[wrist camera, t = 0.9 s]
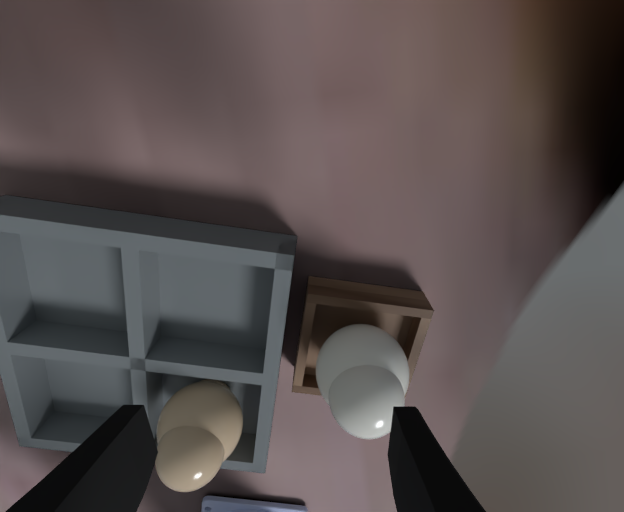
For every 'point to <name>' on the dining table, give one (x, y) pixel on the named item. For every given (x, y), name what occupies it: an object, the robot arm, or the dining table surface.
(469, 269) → the dining table surface
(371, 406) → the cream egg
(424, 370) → the dining table surface
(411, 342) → the brown square tray
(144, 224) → the egg tray
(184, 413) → the brown egg
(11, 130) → the dining table surface
